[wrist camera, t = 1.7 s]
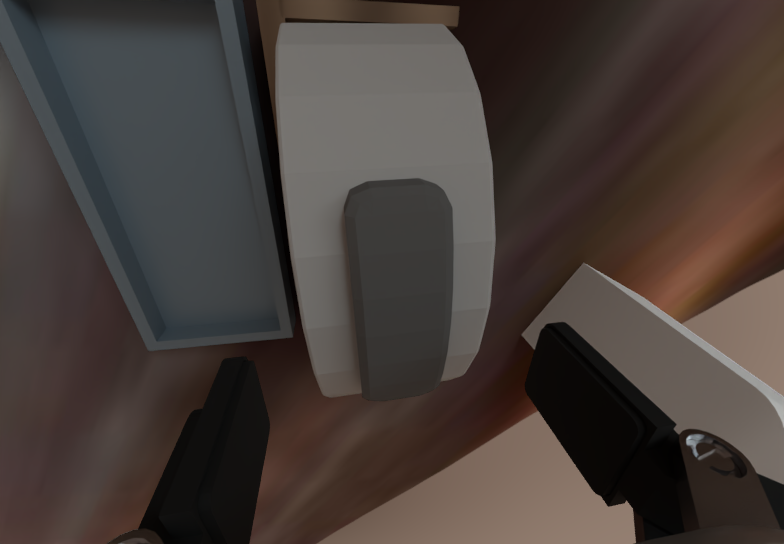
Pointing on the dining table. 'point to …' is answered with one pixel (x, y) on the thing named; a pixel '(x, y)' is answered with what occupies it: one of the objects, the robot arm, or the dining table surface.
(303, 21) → the walnut stall
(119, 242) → the slate tray
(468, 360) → the alarm clock
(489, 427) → the dining table surface
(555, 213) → the dining table surface
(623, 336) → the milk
